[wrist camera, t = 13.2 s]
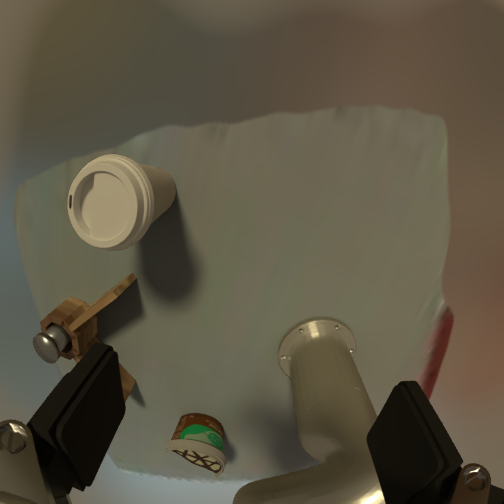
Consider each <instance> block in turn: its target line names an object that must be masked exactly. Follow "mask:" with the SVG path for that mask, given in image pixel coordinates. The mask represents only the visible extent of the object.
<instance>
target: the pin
mask: <svg viewBox="0 0 504 504" xmlns="http://www.w3.org/2000/svg"><path fill="white" fill-rule="evenodd" d="M71 340H72V338H71V336H70V335H69V334H68V333H67V331H66V330H65V329H64V328H63V326H61V325H58V324H56V323H54V324H53V325H52V326H51V327H50V328H49V329H48V330H46V331H45V332H44V333H39V334H37V335H36V336H35V337H34V339H33V345H34V348H35V350H36V352H37V354H38V355H39V356H40V357H41V358H42V359H43V360H44V361H46V362H48V363H55V362H56V361H57V360H58V359H59V357H60V352H61V351H62V350H63V349H64V348H65V346H66V345H67V344H68V343H69V342H70V341H71Z"/></svg>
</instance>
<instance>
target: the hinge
mask: <svg viewBox="0 0 504 504" xmlns="http://www.w3.org/2000/svg"><path fill="white" fill-rule="evenodd" d="M135 279H136V277H135V275H134V274H133V273H132V274H131V275H129V276H128V277H127V278H125V279H124V280H123V281H121V282H120V283H119V284H118V285H116V286H115V287H114V288H112V289H111V290H110V291H109V292H107V293H106V294H105V295H103V296H102V297H101V298H100V299H98V300H97V301H96V302H95V303H93V304H92V305H91V306H90V307H89V306H88V305H87V303H86V302H85V301H82V300H79V299H76V298H73V297H69V298H68V299H67V300H66V301H64V302H63V303H62V304H61V305H59V306H58V307H57V308H56V309H54V310H53V311H52V312H51V313H50V314H48V315H47V316H46V317H45V318H44V319H43V320H42V321H41V322H40V324H41V330H42V333H44V332H45V331H46V330H48V329H49V328H50V327H51V326H52V325H53V324H54V323H56V324H58V325H61V326H63V328H64V329H65V330H66V331H67V333H68V334H69V335H70V336H71V338H72V340H71V341H70V342H69V343H68V344H67V345H66V346H65V348H64V349H63V350H62V351H61V352H60V356H62V357H64V358H66V359H69V360H71V359H72V358H74V359H75V361H76V362H77V363H78V362H79V361H80V359H81V358H82V357H83V356H84V355H85V353H86V352H87V351H88V350H89V349H90V347H91V346H92V345H93V344H94V343H95V342H99V343H101V342H100V341H99V340H98V339H97V337H96V336H95V335H96V334H97V333H98V329H97V316H96V315H95V314H96V313H97V312H98V311H100V310H101V309H102V308H104V307H105V306H106V305H108V304H109V303H110V302H112V301H113V300H115V299H116V298H117V297H118V296H119V295H120V294H121V293H122V292H123V291H124V290H125V289H126V288H127V287H128V286H129V285H130V284H131V283H132V282H133V281H134V280H135ZM119 368H120V375H121V382H122V389H123V395H124V401H125V402H126V400H127V398H128V396H129V394H130V392H131V390H132V388H133V386H134V384H135V382H136V381H135V379H134V378H133V377H132V376H131V375H130V374H129V373H128V372H127V371H126V370H125V369H124V368H123V367H122V366H121V365H120V364H119Z"/></svg>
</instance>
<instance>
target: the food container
mask: <svg viewBox="0 0 504 504" xmlns="http://www.w3.org/2000/svg"><path fill="white" fill-rule="evenodd" d="M166 449H167V450H166V452H168V451H173V452H176V453H177V454H179V455H181V456H182V457H184V458H185V459H187V460H188V461H190V462H191V463H193V464H195V465H198V466H201V467H204V468H206V469H208V470H210V471H213V472H215V473H216V477H218V476H219V475H220V474H221V473H222V472H223V470H224V468H225V465H226V463H227V460H226V457H225V456H224V454H223V427H222V425H221V423H220V422H219V421H218V420H216V419H215V418H213V417H211V416H208V415H205V414H199V413H191V414H186V415H184V416H182V417H181V418H180V421H179V423H178V425H177V427H176V430H175V432H174V434H173V436H172V439H171V441H168V442H166Z"/></svg>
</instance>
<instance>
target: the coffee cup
mask: <svg viewBox="0 0 504 504" xmlns="http://www.w3.org/2000/svg"><path fill="white" fill-rule="evenodd" d="M175 196H176V186H175V182H174V180H173V178H172V177H171V175H170V174H169V173H168V172H166V171H165V170H163V169H160V168H156V167H151V166H146V165H141V164H137V163H136V162H134V161H133V160H131V159H129V158H127V157H125V156H122V155H116V154H110V155H104V156H101V157H98V158H96V159H94V160H93V161H91V162H90V163H88V164H87V165H86V166H85V167H84V168H83V169H82V170H81V171H80V173H79V174H78V175H77V177H76V178H75V180H74V181H73V183H72V185H71V188H70V191H69V196H68V213H69V217H70V221H71V223H72V225H73V227H74V229H75V231H76V232H77V234H78V235H79V236H80V237H81V238H82V239H83V240H84V241H85V242H87V243H88V244H90V245H92V246H95V247H97V248H100V249H103V250H108V251H117V250H123V249H127V248H129V247H131V246H133V245H134V244H136V243H137V242H138V241H139V240H140V239H141V238H142V237H143V236H144V235H145V233H146V232H147V230H148V228H149V226H150V224H151V223H152V222H154V221H155V220H156V219H157V218H158V217H159V216H160V215H162V214H163V213H164V212H165V211H166V210H167V209H169V208H170V206H171V205H172V204H173V202H174V199H175Z"/></svg>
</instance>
